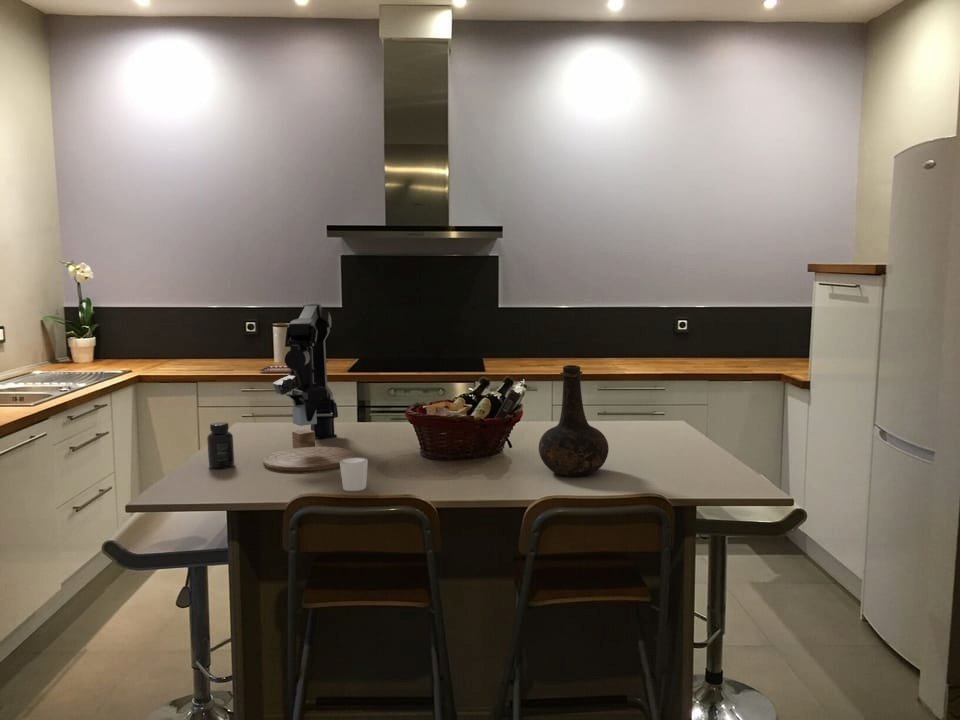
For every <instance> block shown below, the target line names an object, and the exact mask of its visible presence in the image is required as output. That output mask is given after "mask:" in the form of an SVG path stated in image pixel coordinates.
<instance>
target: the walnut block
mask: <svg viewBox="0 0 960 720" xmlns="http://www.w3.org/2000/svg"><path fill="white" fill-rule="evenodd" d="M291 435H292V448H293V447H295V448H303V447H316V438H315V432H314V431H311V429H308V428H307V429H299V430H292V433H291Z"/></svg>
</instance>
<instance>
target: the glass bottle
mask: <svg viewBox="0 0 960 720" xmlns="http://www.w3.org/2000/svg"><path fill="white" fill-rule="evenodd" d="M582 374H583V372H582V371H581V366H580V365H575V364H573V365H572V364H568V365H563V367H562V372H560V373H559V375H560V376H561V377H562V399H561V401H562V402H561V413H560V418H559V422H558V424H557V425H555V426H553V427H551V428H549V429H547V430H546V431H545V432H544V433H543V434H542V436H541V437H540V440H539V442H538V454H539V457H540V459H541V461H542V462H543V464H544V466H546V467H547V469H549V470H550V471H551V472H553V473H555V474H557V475H560V476H565V477H583V476H589V475H591V474H594V473H595V472H597V471H599V470H600V469H601V468H602V467H603V465H604V464H605V462H606V460H607V458H608V456H609V450H610V449H609V442H608V440H607V438H606V436H605V435H604V434H603V433H602V432H601V431H600V430H599V429H598V428H595V427H594V426H591V425H590V424H589V423H588V420H587V417H586V414H585V410H584V404H583V398H582V397H583V396H582V388H581V387H582V384H581V375H582Z"/></svg>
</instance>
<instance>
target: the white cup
mask: <svg viewBox="0 0 960 720" xmlns="http://www.w3.org/2000/svg"><path fill="white" fill-rule="evenodd" d="M368 463H369V461H368V458H365V457H355V456H354V458H346V459H342V460H340V468H339V469H340V475H341V482H342V489H343V490H344V491H347V492H357V491H363V490H365V489H367V479H368V477H367V476H368Z"/></svg>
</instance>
